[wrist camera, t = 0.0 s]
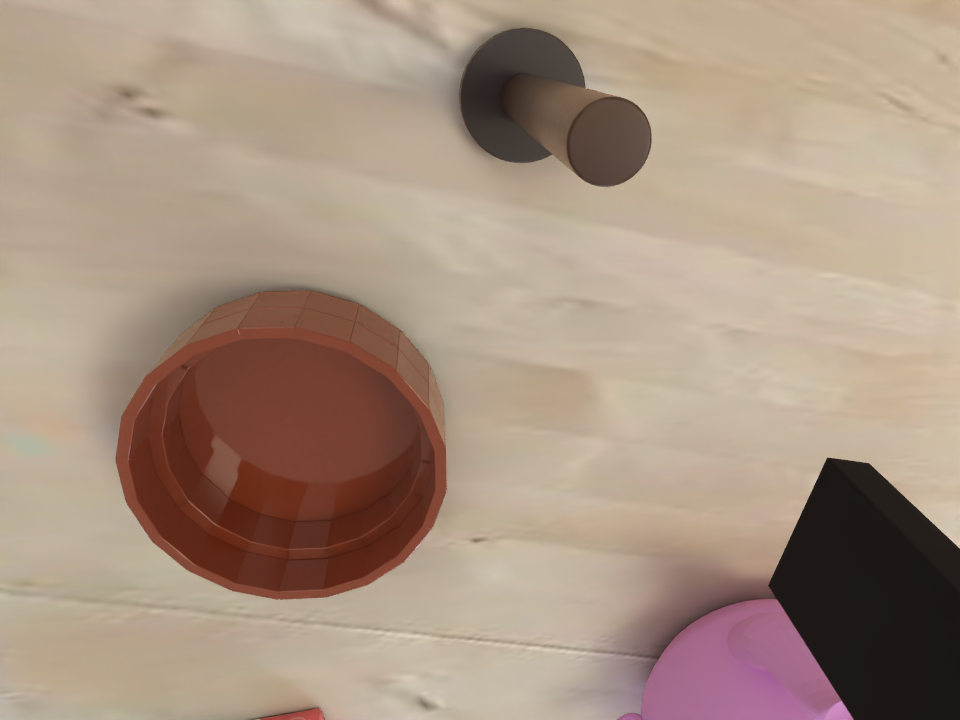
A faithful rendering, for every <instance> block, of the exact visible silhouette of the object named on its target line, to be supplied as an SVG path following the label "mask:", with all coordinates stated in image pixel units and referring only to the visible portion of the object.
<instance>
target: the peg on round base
mask: <svg viewBox="0 0 960 720" xmlns="http://www.w3.org/2000/svg"><path fill="white" fill-rule="evenodd" d="M460 108H461V112H462V117H463V119H464V122H465V124H466V126H467V128H468V130H469V132H470V134H471V135H472V137H473V138H474V140H475V141H476V142H477V143H478V144H479V145H480V146H481V147H482V148H483V149H484V150H485V151H487V152H488V153H490V154H491V155H493V156H495V157H497V158H499V159H501V160H505V161H508V162H515V163H527V162H534V161H538V160H541V159H543V158H546V157H548V156H550V155H552V154H553V155H554V156H555V157H556V158H558V159H559V160H560V161H561V162H562V163H563V164H565V165H566V166H567V167H568V168H569V169H571V170H572V171H573V172H574V173H575V174H576V175H578V176H579V177H580V178H581V179H582V180H584V181H586V182H587V183H590V184H592V185H595V186H601V187H609V186H615V185H619V184H621V183H624V182H625V181H627V180H629V179H630V178H632V177H633V176H634V175H635V174H636V173H637V172H638V171H639V170H640V169H641V168H642V166H643V165H644V163H645V161H646V159H647V157H648V155H649V152H650V148H651V128H650V124H649V122H648V119H647V117H646V115H645V114H644V112H643V111H642V110H641V109H640V108H639V107H638V106H637V105H636V104H634V103H633V102H631V101H629V100H627V99H624V98H621V97H617V96H613V95H609V94H605V93H602V92H598V91H594V90H590V89H586V88H585V81H584V76H583V73H582V69H581V67H580V65H579V62H578V60H577V59H576V57H575V56H574V54H573V53H572V51H571V50H570V49H569V48H568V47H567V46H566V45H565V44H564V43H563V42H562V41H561V40H559V39H558V38H556V37H555V36H553V35H551V34H549V33H547V32H544V31H541V30H537V29H531V28H520V29H512V30H508V31H505V32H502V33H499V34H497V35H495V36H493V37H492V38H490V39H488V40H487V41H486V42H485V43H483V44H482V45H481V46H480V47H479V48H478V49H477V50H476V51H475V53H474V54H473V55H472V57H471V58H470V60H469V62H468V64H467V65H466V68H465V70H464V73H463V76H462V80H461V84H460Z"/></svg>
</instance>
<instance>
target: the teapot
mask: <svg viewBox="0 0 960 720" xmlns="http://www.w3.org/2000/svg"><path fill="white" fill-rule="evenodd" d="M617 720H853V718H852V716H851V715H850V713H849V712H848V710H847V709H846V707H845V705H844V704H843V702H842V701H841V699H840V698H839V696H838V694H837V693H836V691H835V690H834V688H833V687H832V685H831V683H830V682H829V680H828V679H827V677H826V676H825V674H824V672H823V671H822V669H821V668H820V666H819V665H818V663H817V661H816V660H815V658H814V657H813V655H812V654H811V652H810V650H809V649H808V647H807V646H806V644H805V643H804V641H803V639H802V638H801V636H800V635H799V633H798V632H797V630H796V628H795V627H794V625H793V624H792V622H791V621H790V619H789V617H788V616H787V614H786V613H785V611H784V609H783V608H782V606H781V605H780V603H779V602H778V600H777V599H758V600H750V601H744V602H739V603H736V604H732V605H728V606H725V607H723V608H720V609H717V610H715V611H713V612H711V613H709V614H707V615H705V616H703V617H701V618H699V619H698V620H696V621H694V622H693V623H691V624H690V625H689V626H687V627H686V628H685V629H684V630H682V631H681V632H680V633H679V634H678V635H677V636H676V637H675V638H674V639H673V640H672V641H671V642H670V644H669V645H668V646H667V647H666V649H665V650H664V652H663V653H662V655H661V656H660V658H659V659H658V661H657V662H656V664H655V666H654V668H653V670H652V672H651V674H650V676H649V679H648V681H647V683H646V686H645V689H644V693H643V698H642V709H641V716H640V715H638V714H635V713H628V714H625V715H623V716H621V717H620V718H618V719H617Z"/></svg>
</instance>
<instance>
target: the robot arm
mask: <svg viewBox="0 0 960 720" xmlns="http://www.w3.org/2000/svg"><path fill="white" fill-rule="evenodd" d="M768 586H769V587H770V589H771V591H772V592H773V594H774V595H775V597H776V598H777V600H778V602H779V603H780V605H781V606H782V608H783V609H784V611H785V613H786V614H787V616H788V617H789V619H790V621H791V622H792V624H793V625H794V627H795V628H796V630H797V632H798V633H799V635H800V636H801V638H802V639H803V641H804V643H805V644H806V646H807V647H808V649H809V650H810V652H811V654H812V655H813V657H814V658H815V660H816V661H817V663H818V665H819V666H820V668H821V669H822V671H823V672H824V674H825V676H826V677H827V679H828V680H829V682H830V683H831V685H832V687H833V688H834V690H835V691H836V693H837V694H838V696H839V698H840V699H841V701H842V702H843V704H844V705H845V707H846V709H847V710H848V712H849V713H850V715H851V716H852V718H853V720H960V549H959V548H958V547H957V546H956V545H955V544H954V543H953V542H952V541H951V540H950V539H949V538H948V537H947V536H946V535H945V534H944V533H942V532H941V531H940V530H939V529H938V528H937V527H936V526H935V525H934V524H933V523H932V522H931V521H930V520H929V519H928V518H926V517H925V516H924V515H923V514H922V513H921V512H920V511H919V510H918V509H917V508H916V507H915V506H914V505H913V504H912V503H911V502H909V501H908V500H907V499H906V498H905V497H904V496H903V495H902V494H901V493H900V492H899V491H898V490H897V489H896V488H895V487H894V486H892V485H891V484H890V483H889V482H888V481H887V480H886V479H885V478H884V477H883V476H882V475H881V474H880V473H879V472H878V471H876V470H875V469H874V468H873V467H872V466H871V465H870V464H869V463H863V462H856V461H848V460H841V459H834V458H827V460H826V462H825V464H824V466H823V468H822V470H821V472H820V475H819V477H818V479H817V481H816V483H815V485H814V488H813V490H812V492H811V494H810V496H809V498H808V501H807V503H806V505H805V507H804V509H803V511H802V514H801V516H800V518H799V520H798V522H797V524H796V527H795V529H794V531H793V533H792V535H791V537H790V540H789V542H788V544H787V546H786V548H785V550H784V552H783V555H782V557H781V559H780V561H779V563H778V565H777V568H776V570H775V572H774V574H773V576H772V578H771V581H770V583H769V585H768Z"/></svg>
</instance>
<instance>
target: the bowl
mask: <svg viewBox="0 0 960 720" xmlns="http://www.w3.org/2000/svg"><path fill="white" fill-rule="evenodd" d="M116 464H117V468H118V472H119V476H120V480H121V484H122V488H123V492H124V496H125V500H126V503H127V505H128V506H129V508H130V509H131V511H132V512H133V514H134V515H135V517H136V518H137V520H138V521H139V523H140V524H141V526H142V527H143V529H144V530H145V532H146V533H147V535H148V536H149V538H150V539H151V540H152V542H153V543H155V544H156V545H157V546H158V547H160V548H161V549H162V550H163V551H164V552H166V553H167V554H168V555H169V556H171V557H172V558H173V559H174V560H175V561H177V562H178V563H179V564H180V565H182V566H183V567H184V568H185V569H186V570H189V571H190V572H192V573H194V574H196V575H198V576H201V577H203V578H205V579H207V580H209V581H212V582H214V583H216V584H218V585H220V586H223V587H225V588H227V589H229V590H232V591H235V592H240V593H246V594H251V595H256V596H261V597H267V598H272V599H277V600H278V599H280V600H282V599H303V598H324V597H329V596H333V595H336V594H339V593H343V592H346V591H349V590H352V589H356V588H359V587H362V586H366V585H369V584H370V583H372V582H373V581H375V580H377V579H378V578H380V577H381V576H383V575H384V574H386V573H388V572H389V571H391V570H392V569H394V568H396V567H397V566H399V565H400V564H402V563H403V562H405V561H406V560H407V559H408V558H409V556H410V555H411V554H412V553H413V552H414V550H415V549H416V548H417V547H418V546H419V544H420V543H421V542H422V541H423V540H424V539H425V537H426V536H427V535H428V534H429V533H430V531H431V530H432V528H433V526H434V524H435V521H436V518H437V515H438V513H439V510H440V507H441V505H442V502H443V499H444V496H445V494H446V490H447V483H446V441H445V422H444V403H443V399H442V396H441V394H440V391H439V389H438V386H437V384H436V381H435V378H434V376H433V373H432V371H431V368H430V366H429V364H428V362H427V361H426V360H425V359H424V357H423V356H422V355H421V354H420V353H419V351H418V350H417V349H416V348H415V347H414V346H413V344H412V343H411V342H410V341H409V340H408V338H407V337H406V336H405V335H404V334H403V333H402V331H401V330H399V329H398V328H396V327H395V326H393V325H392V324H390V323H388V322H387V321H385V320H384V319H382V318H380V317H379V316H377V315H376V314H374V313H373V312H371V311H369V310H368V309H366V308H365V307H363V306H361V305H359V304H358V303H354V302H350V301H347V300H343V299H340V298H336V297H333V296H329V295H325V294H322V293H318V292H315V291H265V292H260V293H257V294H254V295H251V296H248V297H245V298H242V299H239V300H236V301H233V302H230V303H227V304H224V305H221V306H218V307H217V308H214V309H213V310H212V311H210V312H209V313H208V314H207V315H205V316H204V317H203V318H201V319H200V320H199V321H197V322H196V323H195V324H194V325H192V326H191V327H190V328H188V329H187V330H186V331H185V332H183V333H182V334H181V335H180V336H179V337H178V339H177V340H176V341H175V342H174V343H173V344H172V346H171V347H170V348H169V349H168V350H167V351H166V353H165V354H164V355H163V356H162V357H161V359H160V360H159V361H158V362H157V363H156V365H155V366H154V367H153V368H152V369H151V370H150V372H149V373H148V374H147V375H146V376H145V378H144V379H143V381H142V383H141V384H140V386H139V388H138V389H137V391H136V393H135V394H134V396H133V398H132V399H131V401H130V403H129V404H128V406H127V408H126V409H125V411H124V413H123V415H122V417H121V424H120V431H119V438H118V445H117V452H116Z"/></svg>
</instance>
